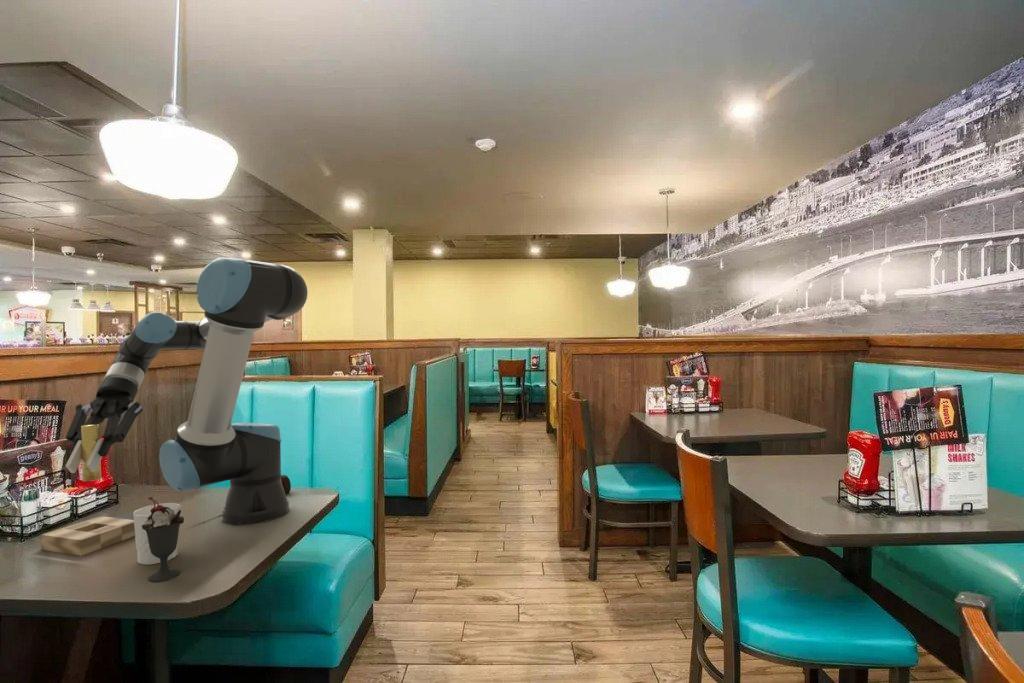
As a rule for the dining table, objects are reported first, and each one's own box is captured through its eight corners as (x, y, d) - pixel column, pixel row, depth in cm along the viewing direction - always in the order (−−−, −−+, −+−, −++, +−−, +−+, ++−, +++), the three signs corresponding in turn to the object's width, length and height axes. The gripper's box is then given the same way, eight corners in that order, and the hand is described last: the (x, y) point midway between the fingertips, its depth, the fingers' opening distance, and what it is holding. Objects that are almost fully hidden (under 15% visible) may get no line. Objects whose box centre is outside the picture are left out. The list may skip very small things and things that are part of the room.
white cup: (181, 560, 104) (180, 510, 104) (132, 570, 100) (131, 518, 100) (181, 547, 110) (180, 500, 110) (135, 556, 106) (135, 507, 106)
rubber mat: (154, 518, 129) (154, 516, 129) (122, 529, 122) (122, 528, 122) (125, 515, 132) (125, 513, 132) (91, 525, 125) (91, 524, 125)
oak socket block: (138, 536, 117) (138, 520, 117) (81, 557, 106) (80, 540, 106) (101, 531, 121) (100, 516, 121) (41, 551, 110) (40, 534, 110)
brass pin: (104, 477, 116) (103, 424, 116) (88, 481, 113) (87, 426, 113) (94, 477, 117) (93, 423, 117) (78, 480, 114) (77, 426, 114)
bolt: (231, 511, 140) (286, 496, 151) (237, 505, 137) (293, 490, 148) (226, 491, 142) (280, 477, 153) (232, 484, 139) (287, 471, 150)
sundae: (136, 578, 96) (134, 497, 96) (176, 565, 101) (175, 488, 101) (149, 588, 92) (147, 503, 92) (190, 574, 97) (189, 494, 97)
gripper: (162, 393, 131) (130, 475, 115) (89, 396, 128) (45, 481, 112) (152, 374, 126) (116, 456, 110) (75, 376, 123) (27, 461, 106)
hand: (80, 468), depth 111 cm, fingers closed on brass pin, 3 cm apart
